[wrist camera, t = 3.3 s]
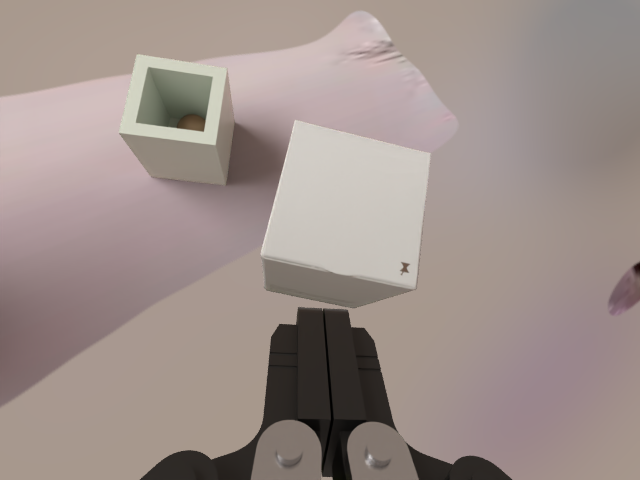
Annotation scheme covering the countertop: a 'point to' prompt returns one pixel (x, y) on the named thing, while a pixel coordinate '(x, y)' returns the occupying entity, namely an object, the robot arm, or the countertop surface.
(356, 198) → the supplement box
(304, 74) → the countertop surface
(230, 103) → the stoneware open box
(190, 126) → the walnut ball
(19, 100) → the countertop surface
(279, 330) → the robot arm
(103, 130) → the countertop surface
